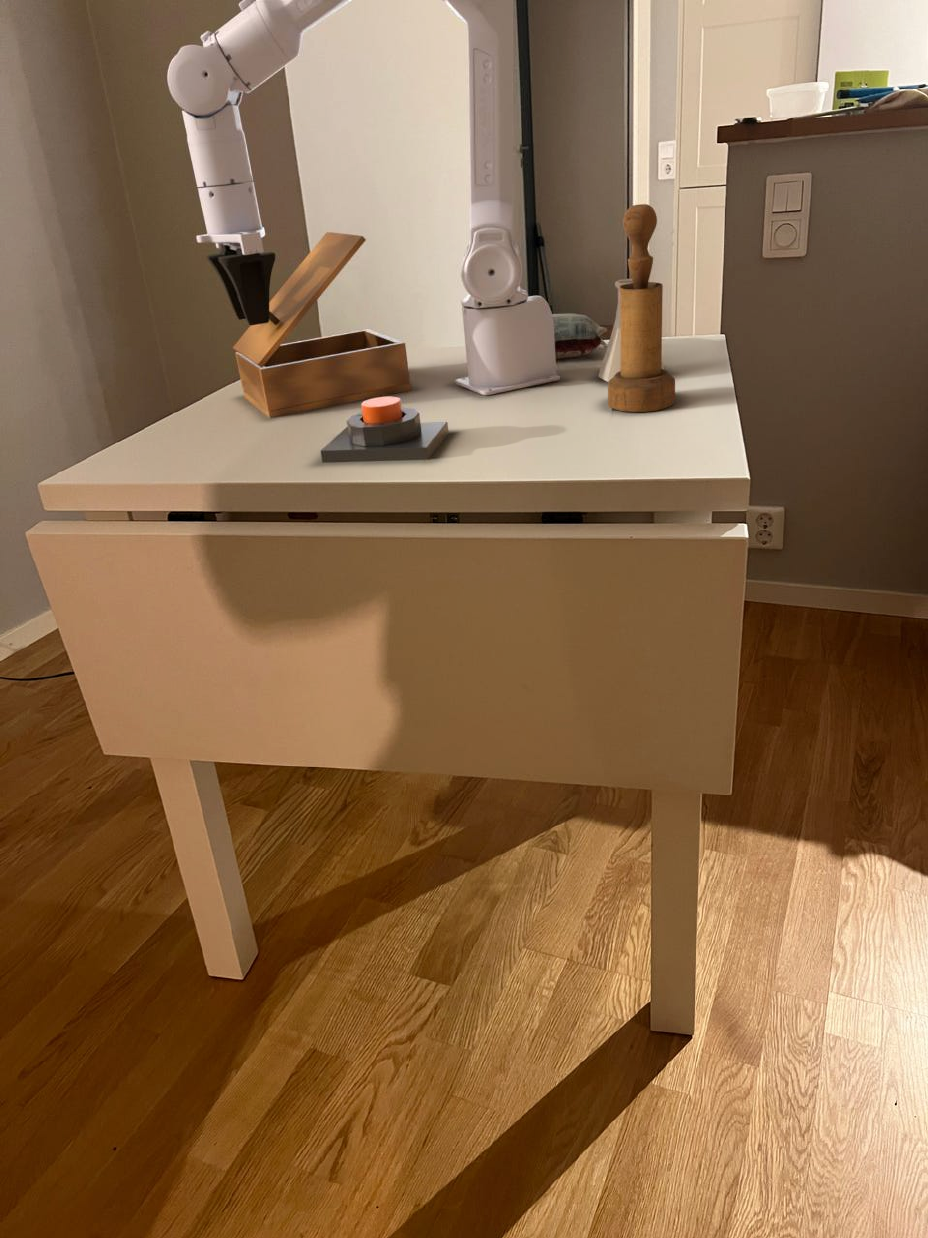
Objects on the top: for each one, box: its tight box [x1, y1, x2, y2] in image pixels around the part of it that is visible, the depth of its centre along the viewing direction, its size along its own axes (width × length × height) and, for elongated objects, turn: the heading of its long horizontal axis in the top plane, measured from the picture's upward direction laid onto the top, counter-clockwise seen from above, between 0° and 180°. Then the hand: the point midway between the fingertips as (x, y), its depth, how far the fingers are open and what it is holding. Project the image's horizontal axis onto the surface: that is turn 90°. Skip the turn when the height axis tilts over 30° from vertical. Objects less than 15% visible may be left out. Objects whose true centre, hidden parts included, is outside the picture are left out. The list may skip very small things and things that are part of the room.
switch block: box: [319, 406, 450, 464], centre depth 85 cm, size 10×8×3 cm
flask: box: [597, 278, 666, 383], centre depth 99 cm, size 7×7×10 cm
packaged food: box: [552, 313, 608, 360], centre depth 113 cm, size 9×12×5 cm
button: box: [360, 396, 403, 423], centre depth 84 cm, size 4×4×2 cm
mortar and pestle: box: [607, 203, 676, 413], centre depth 87 cm, size 7×6×18 cm
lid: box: [232, 231, 367, 368], centre depth 101 cm, size 17×13×5 cm
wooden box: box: [235, 328, 412, 419], centre depth 107 cm, size 17×13×5 cm
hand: (253, 320), depth 101 cm, fingers closed on lid, 5 cm apart
